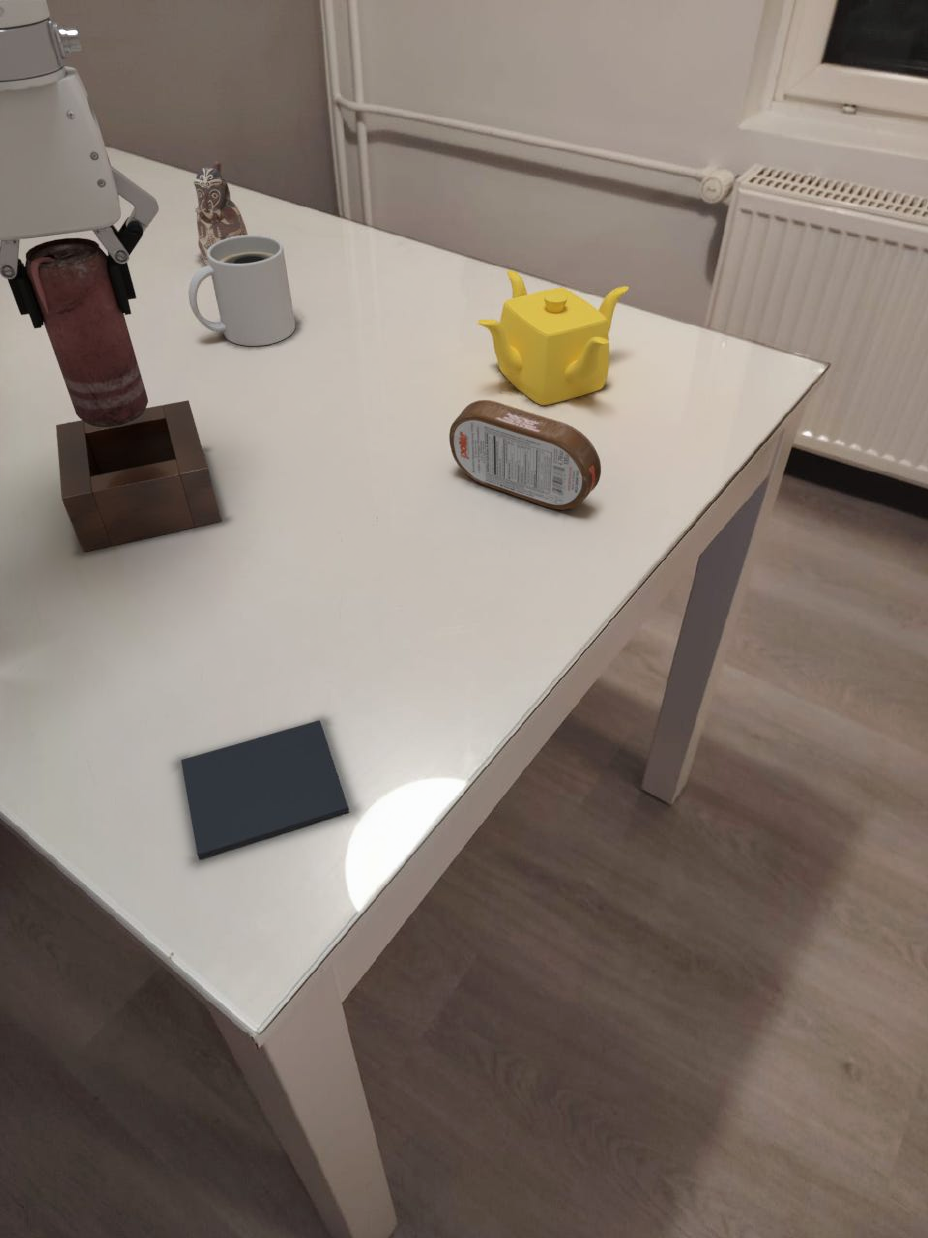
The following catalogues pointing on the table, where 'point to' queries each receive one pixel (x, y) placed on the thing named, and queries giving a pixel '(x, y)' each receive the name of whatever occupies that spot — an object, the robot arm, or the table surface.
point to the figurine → (215, 210)
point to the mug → (248, 290)
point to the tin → (524, 454)
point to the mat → (261, 788)
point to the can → (87, 330)
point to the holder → (135, 477)
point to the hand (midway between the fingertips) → (82, 312)
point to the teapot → (553, 342)
